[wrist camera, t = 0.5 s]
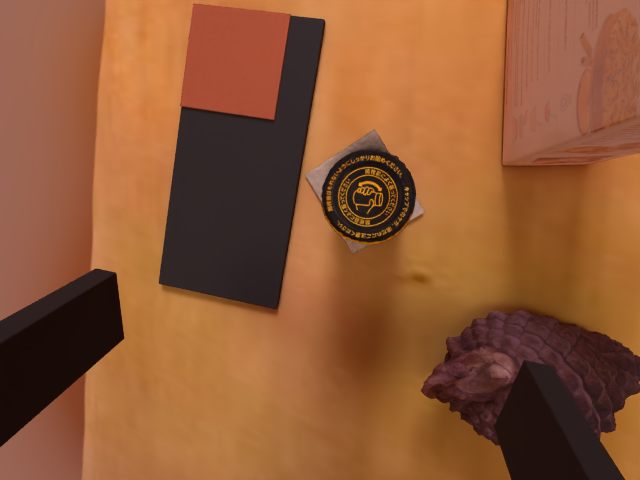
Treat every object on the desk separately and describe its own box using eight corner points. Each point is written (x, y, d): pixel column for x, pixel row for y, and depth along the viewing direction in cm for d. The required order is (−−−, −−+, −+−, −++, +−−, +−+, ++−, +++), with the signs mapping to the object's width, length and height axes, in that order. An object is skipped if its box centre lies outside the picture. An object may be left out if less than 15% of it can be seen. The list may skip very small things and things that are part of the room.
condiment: (353, 254, 31) (345, 279, 19) (305, 174, 31) (268, 150, 19) (424, 212, 30) (463, 211, 18) (374, 129, 30) (381, 74, 18)
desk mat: (277, 307, 32) (275, 309, 31) (161, 282, 34) (157, 284, 33) (325, 23, 30) (324, 17, 29) (197, 8, 31) (193, 3, 30)
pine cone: (607, 275, 28) (751, 383, 20) (559, 352, 34) (656, 461, 25) (404, 297, 26) (472, 429, 18) (388, 376, 31) (435, 505, 23)
